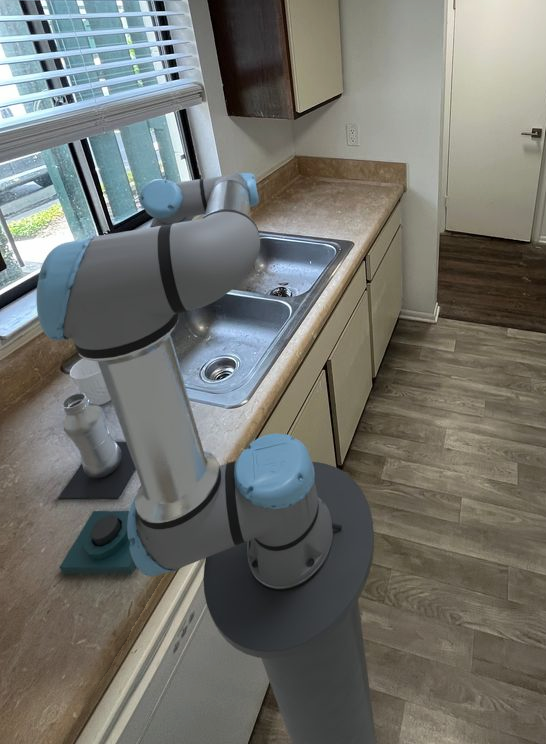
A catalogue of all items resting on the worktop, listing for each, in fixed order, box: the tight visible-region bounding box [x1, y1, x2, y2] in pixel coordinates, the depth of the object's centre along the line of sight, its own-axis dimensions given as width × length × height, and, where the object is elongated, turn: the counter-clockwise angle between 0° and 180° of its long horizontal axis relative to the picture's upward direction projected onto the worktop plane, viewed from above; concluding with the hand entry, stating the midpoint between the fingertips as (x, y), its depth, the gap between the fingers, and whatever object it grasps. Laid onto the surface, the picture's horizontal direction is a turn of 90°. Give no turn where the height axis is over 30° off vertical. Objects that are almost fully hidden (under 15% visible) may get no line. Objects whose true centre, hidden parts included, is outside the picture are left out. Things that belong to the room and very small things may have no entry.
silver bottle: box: [62, 392, 122, 478], centre depth 87 cm, size 6×7×20 cm
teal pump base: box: [58, 510, 137, 575], centre depth 78 cm, size 12×9×4 cm
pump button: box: [91, 514, 121, 546], centre depth 77 cm, size 4×4×2 cm
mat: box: [57, 441, 136, 500], centre depth 92 cm, size 12×12×1 cm
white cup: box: [69, 358, 111, 406], centre depth 107 cm, size 8×8×10 cm
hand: (118, 351), depth 91 cm, fingers open, 13 cm apart
